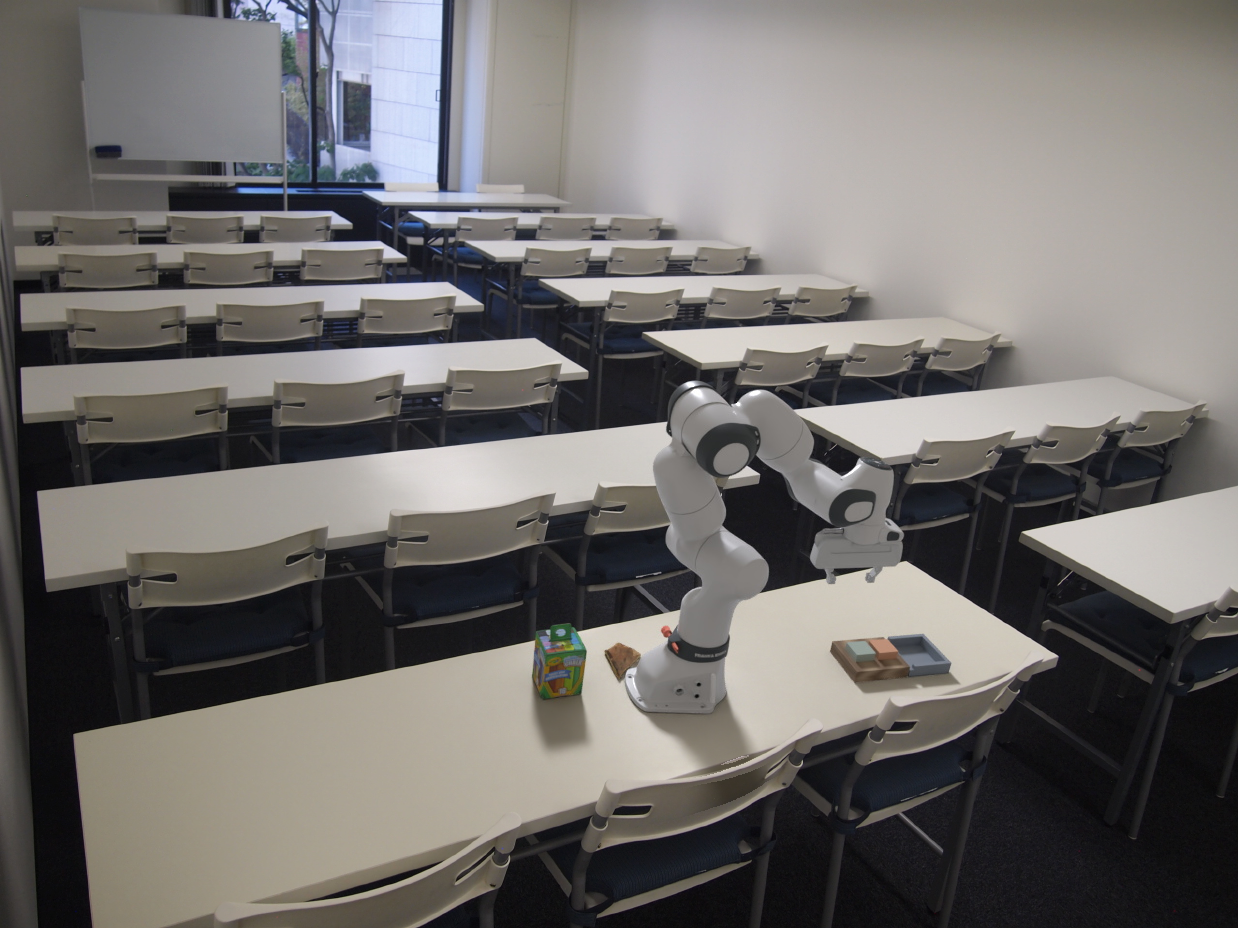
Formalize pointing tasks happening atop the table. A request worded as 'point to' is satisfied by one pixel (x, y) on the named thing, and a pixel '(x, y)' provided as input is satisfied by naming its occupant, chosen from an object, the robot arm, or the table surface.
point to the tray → (920, 655)
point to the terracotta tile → (883, 649)
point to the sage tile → (860, 651)
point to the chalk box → (559, 661)
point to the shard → (621, 658)
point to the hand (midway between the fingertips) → (849, 582)
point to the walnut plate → (868, 664)
